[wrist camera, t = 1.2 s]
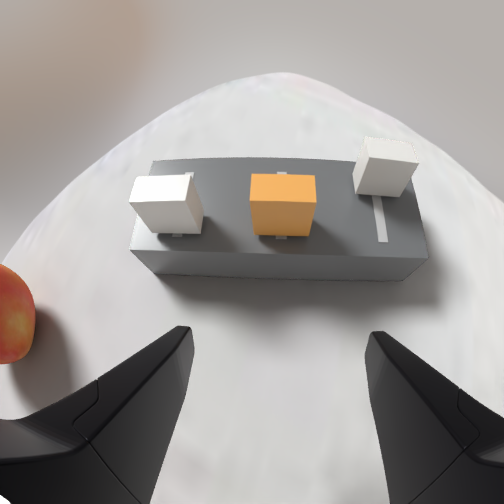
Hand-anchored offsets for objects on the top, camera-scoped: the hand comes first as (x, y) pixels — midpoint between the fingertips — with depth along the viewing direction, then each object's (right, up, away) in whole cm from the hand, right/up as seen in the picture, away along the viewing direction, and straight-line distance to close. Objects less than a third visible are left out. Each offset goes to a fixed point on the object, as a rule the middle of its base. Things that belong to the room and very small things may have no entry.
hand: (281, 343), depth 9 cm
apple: (-24, -5, +15) cm, 28 cm away
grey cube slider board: (+2, +4, +17) cm, 17 cm away
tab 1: (-6, +5, +12) cm, 14 cm away
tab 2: (+1, +5, +11) cm, 12 cm away
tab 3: (+8, +8, +12) cm, 16 cm away
